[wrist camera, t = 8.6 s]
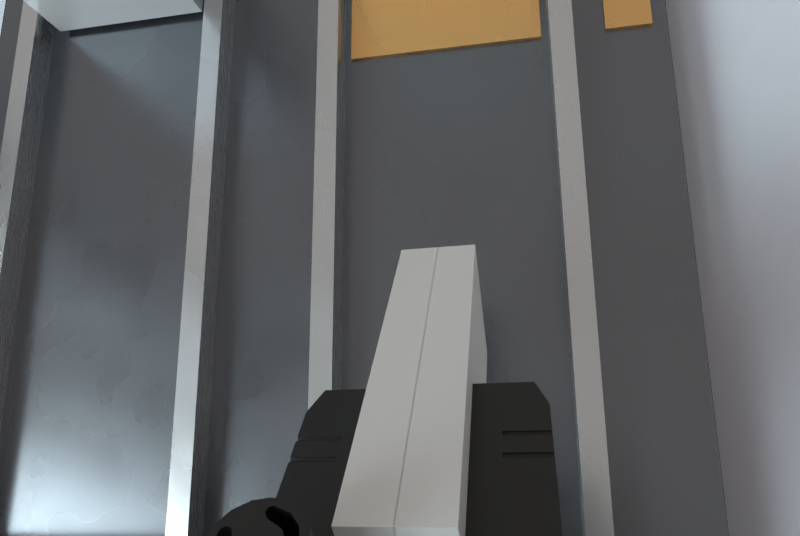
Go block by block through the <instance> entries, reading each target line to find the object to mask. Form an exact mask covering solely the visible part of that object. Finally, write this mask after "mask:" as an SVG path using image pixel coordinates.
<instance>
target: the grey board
mask: <svg viewBox="0 0 800 536" xmlns="http://www.w3.org/2000/svg"><path fill="white" fill-rule="evenodd" d="M461 245H475V247H476V256H477V265H478V274H479V283H480V292H481V301H482V310H483V320H484V329H485V338H486V347H487V378H486V383H508V382H535V383H536V385H537V386H538V388H539V389H540V390H541V392H542V393H543V395H544V396H545V398H546V399H547V401H548V402H549V403H550V411H551V422H552V433H553V442H554V453H555V463H556V473H557V484H558V494H559V504H560V515H561V525H562V535H563V536H729V532H728V524H727V516H726V507H725V499H724V490H723V482H722V474H721V465H720V457H719V448H718V440H717V432H716V423H715V415H714V407H713V398H712V390H711V381H710V373H709V365H708V356H707V348H706V339H705V331H704V323H703V314H702V306H701V298H700V289H699V281H698V272H697V264H696V256H695V247H694V239H693V231H692V222H691V214H690V205H689V197H688V189H687V180H686V172H685V163H684V155H683V147H682V138H681V130H680V122H679V113H678V105H677V96H676V88H675V80H674V71H673V63H672V55H671V46H670V38H669V29H668V21H667V13H666V4H665V0H203V6H202V12H196V13H189V14H182V15H175V16H168V17H161V18H153V19H146V20H139V21H132V22H125V23H118V24H111V25H103V26H96V27H89V28H82V29H75V30H68V31H59V30H58V29H57V28H56V27H54V26H53V25H52V24H51V23H50V22H48V21H47V20H46V19H45V18H44V17H42V16H41V15H40V14H39V13H38V12H36V11H35V10H34V9H33V8H32V7H30V6H29V5H28V4H27V3H26V2H24V1H23V0H6V4H5V10H4V16H3V23H2V29H1V36H0V536H207V534H208V533H209V531H210V530H211V528H212V527H213V525H214V524H215V523H217V522H218V521H219V520H220V519H221V518H222V517H223V516H225V515H226V514H227V513H228V512H229V511H230V510H232V509H234V508H236V507H238V506H241V505H243V504H245V503H247V502H249V501H251V500H257V499H263V498H270V497H273V498H276V496H277V493H278V490H279V487H280V485H281V482H282V479H283V476H284V473H285V471H286V468H287V465H288V462H290V460H291V458H290V456H291V454H292V451H293V448H294V445H295V442H296V441H298V434H299V431H300V428H301V425H302V423H303V420H304V417H305V414H306V412H307V410H308V409H309V408H310V407H311V406H312V405H313V404H314V403H315V401H316V400H317V399H318V398H319V397H320V396H321V395H322V393H323V392H324V391H325V390H348V389H366V388H367V384H368V380H369V376H370V372H371V368H372V364H373V360H374V356H375V352H376V348H377V344H378V341H379V337H380V333H381V329H382V325H383V321H384V317H385V313H386V309H387V305H388V301H389V297H390V293H391V289H392V285H393V282H394V278H395V274H396V270H397V266H398V262H399V258H400V254H401V250H406V249H420V248H434V247H447V246H461Z"/></svg>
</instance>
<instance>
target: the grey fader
mask: <svg viewBox="0 0 800 536" xmlns="http://www.w3.org/2000/svg"><path fill="white" fill-rule="evenodd" d="M23 1H24V2H26V3H27V4H28V5H29V6H30V7H32V8H33V9H34V10H35V11H36V12H38V13H39V14H40V15H41V16H42V17H44V18H45V19H46V20H47V21H48V22H50V23H51V24H52V25H53V26H54V27H56V28H57V29H58V30H59V31H68V30H75V29H82V28H89V27H96V26H103V25H111V24H118V23H125V22H132V21H139V20H146V19H153V18H161V17H168V16H175V15H182V14H189V13H196V12H202V6H203V0H23Z"/></svg>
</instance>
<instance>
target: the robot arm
mask: <svg viewBox="0 0 800 536" xmlns="http://www.w3.org/2000/svg"><path fill="white" fill-rule="evenodd" d="M486 378H487V347H486V338H485V329H484V320H483V310H482V301H481V292H480V283H479V274H478V265H477V256H476V247H475V245H461V246H447V247H434V248H420V249H406V250H401V254H400V258H399V262H398V266H397V270H396V274H395V278H394V282H393V285H392V289H391V293H390V297H389V301H388V305H387V309H386V313H385V317H384V321H383V325H382V329H381V333H380V337H379V341H378V344H377V348H376V352H375V356H374V360H373V364H372V368H371V372H370V376H369V380H368V384H367V388H366V389H348V390H325V391H324V392H323V393H322V395H321V396H320V397H319V398H318V399H317V400H316V401H315V403H314V404H313V405H312V406H311V407H310V408H309V409H308V410H307V412H306V414H305V417H304V420H303V423H302V425H301V428H300V431H299V434H298V441H296V442H295V445H294V448H293V451H292V454H291V456H290V458H291V460H290V462H288V465H287V468H286V471H285V473H284V476H283V479H282V482H281V485H280V487H279V490H278V493H277V496H276V498H273V497H270V498H263V499H257V500H251V501H249V502H247V503H245V504H243V505H241V506H238V507H236V508H234V509H232V510H230V511H229V512H228V513H227V514H226V515H225V516H223V517H222V518H221V519H220V520H219V521H218V522H217V523H215V524H214V525H213V527H212V528H211V530H210V531H209V533H208V534H207V536H563V535H562V525H561V515H560V504H559V494H558V484H557V473H556V463H555V453H554V442H553V433H552V422H551V411H550V403H549V402H548V401H547V399H546V398H545V396H544V395H543V393H542V392H541V390H540V389H539V388H538V386H537V385H536V383H535V382H508V383H486Z"/></svg>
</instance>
